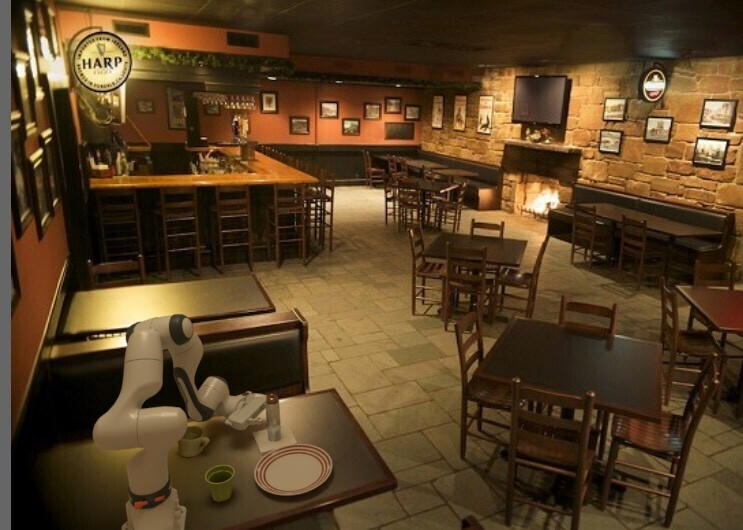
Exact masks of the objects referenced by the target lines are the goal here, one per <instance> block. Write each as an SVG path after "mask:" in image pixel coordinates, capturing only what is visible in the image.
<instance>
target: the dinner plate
mask: <svg viewBox="0 0 743 530" xmlns="http://www.w3.org/2000/svg"><path fill="white" fill-rule="evenodd" d="M332 471H333V460H332V457H331V455H329V453H328V452H327V451H325V449H322V448H321V447H318V446H317V445H314V444H308V443H297V444H292V445H286V446H283V447H279V448H277V449H275V450H273V451H271V452H269V453H267V454H265V455H263V457H261V458H260V460H258V462H257V463H256V465H255V468H254V471H253V476H254V477H253V478H254V481H255V483H256V484H257V485H258V487H260V488H261V489H262V490H263V491H265V492H267V493H269V494H272V495H277V496H282V497H283V496H285V497H287V496H297V495H302V494H306V493H308V492H310V491H313V490H315V489H316V488H318V487H319V486H321V485H323V483H324V482H326V481H327V480H328V478H329V477H330V476H331V474H332Z"/></svg>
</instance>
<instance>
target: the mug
mask: <svg viewBox="0 0 743 530" xmlns="http://www.w3.org/2000/svg"><path fill="white" fill-rule="evenodd" d="M204 432H205V431H204V430H203V428H202V427H200V426H199V425H198V426H197V425H189V426H187V430H186V432H185V434H184V436H183V437H182V438H181V439H180V440H179V441H178V442H177V444H178V445H177V447H178V453H179V455H180V456H182V457H184V458H192V457H196V456H198V455H200V454H201V453H202V452H203V450H204V448H205V447H206V446H207V445H208V444H209V443H210V442H211V441H210V439H209V437H207V436H205V433H204Z"/></svg>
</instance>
